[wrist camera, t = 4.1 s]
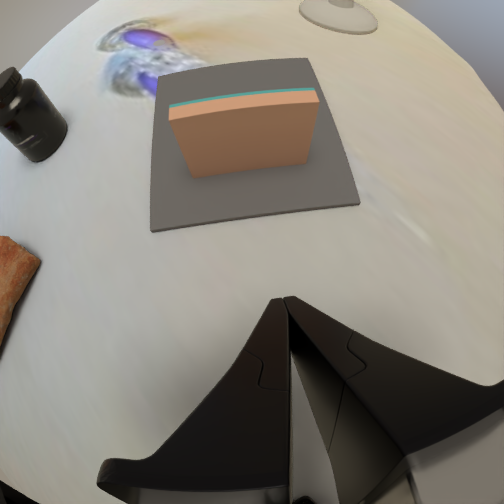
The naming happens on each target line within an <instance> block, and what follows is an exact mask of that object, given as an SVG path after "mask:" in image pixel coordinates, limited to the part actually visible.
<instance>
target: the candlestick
mask: <svg viewBox="0 0 504 504" xmlns="http://www.w3.org/2000/svg"><path fill="white" fill-rule="evenodd" d="M299 12H300V14H301V15H302V16H303V17H304V18H305V19H307V20H308V21H310V22H312V23H314V24H316V25H318V26H320V27H323V28H326V29H329V30H333V31H337V32H341V33H347V34H369V33H372V32H374V31H375V30H376V29H377V26H378V21H377V19H376V18H375V16H374V15H373V14H372V13H371V12H370V11H369V10H368V9H366V8H365V7H363V6H362V5H360V4H358V3H356V2H354V1H353V0H304V1H303V2H301V3H300V5H299Z"/></svg>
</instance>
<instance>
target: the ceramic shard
mask: <svg viewBox="0 0 504 504" xmlns="http://www.w3.org/2000/svg"><path fill="white" fill-rule="evenodd" d="M39 264H40V260H39V258H37V257H35V256H34V255H33V254H30V253H29V252H28V251H26V250H25V248H24V247H22V246H21V245H20V244H17V243H15V242H14V241H13V240H12V239H10V237H9V236H0V346H1V343H2V340H3V337H4V334H5V331H6V329H7V326H8V324H9V322H10V320H11V315H12V311H13V308H14V306H15V304H16V302H17V301H18V300H19V298H20V297H21V295H22V293H23V291H24V289H25V287H26V286H27V284H28V282H29V280H30V279H31V277H32V276H33V274H34V273H35V271H36V270H37V268H38V267H39Z"/></svg>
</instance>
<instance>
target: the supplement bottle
mask: <svg viewBox="0 0 504 504" xmlns="http://www.w3.org/2000/svg"><path fill="white" fill-rule="evenodd" d="M66 129H67V125H66V121H65V120H64V118H63V117H62V115H61V114H60V113H59V112H58V110H57V109H56V108H55V106H54V105H53V104H52V102H51V101H50V99H49V98H48V97H47V95H46V94H45V93H44V91H43V90H42V89H41V87H40V86H39V84H38V83H37V82H36V81H35V80H33V79H23V80H22V75H21V74H20V73H19V72H18V71H17V70H16V68H14V67H10V68H8V69H7V70H5V71H3V72H2V73H1V74H0V132H1V133H2V134H3V135H4V136H5V137H6V138H7V139H8V140H9V141H10V142H11V143H12V144H13V145H14V146H15V147H16V148H17V149H18V150H19V151H20V152H21V153H22V154H23V155H25V156H26V157H27V158H28V159H29V160H31V161H40V160H43V159H45V158H47V157H48V156H50V155H51V154H52V153H53V152H54V151H55V150H56V149H57V148H58V147H59V145H60V144H61V142H62V141H63V139H64V137H65V134H66Z"/></svg>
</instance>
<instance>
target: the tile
mask: <svg viewBox="0 0 504 504" xmlns="http://www.w3.org/2000/svg"><path fill="white" fill-rule="evenodd" d="M319 103H320V102H319V99H318V97H317V94H316V92H315V89H314V88H293V89H277V90H265V91H255V92H246V93H238V94H230V95H223V96H216V97H210V98H204V99H198V100H193V101H187V102H182V103H177V104H172V105H169V122H170V125H171V127H172V130H173V132H174V135H175V137H176V139H177V142H178V144H179V147H180V149H181V151H182V154H183V156H184V158H185V161H186V163H187V166H188V168H189V170H190V173H191V175H192V177H193V178H199V177H206V176H212V175H218V174H225V173H232V172H239V171H247V170H254V169H262V168H271V167H280V166H289V165H299V164H306V161H307V157H308V153H309V148H310V144H311V139H312V135H313V130H314V126H315V121H316V117H317V112H318V107H319Z"/></svg>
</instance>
